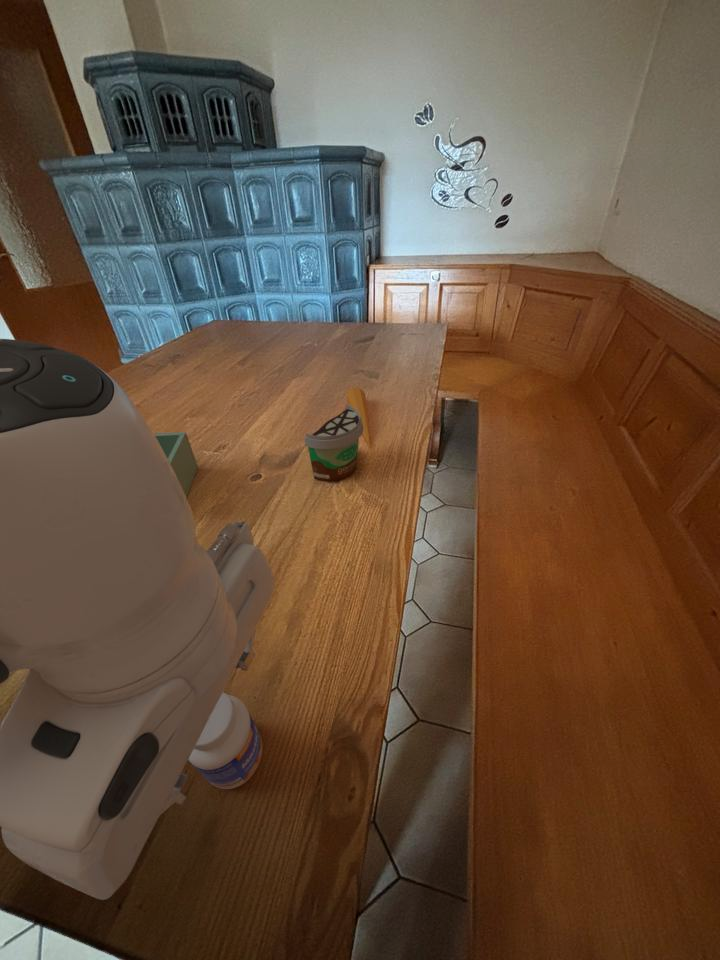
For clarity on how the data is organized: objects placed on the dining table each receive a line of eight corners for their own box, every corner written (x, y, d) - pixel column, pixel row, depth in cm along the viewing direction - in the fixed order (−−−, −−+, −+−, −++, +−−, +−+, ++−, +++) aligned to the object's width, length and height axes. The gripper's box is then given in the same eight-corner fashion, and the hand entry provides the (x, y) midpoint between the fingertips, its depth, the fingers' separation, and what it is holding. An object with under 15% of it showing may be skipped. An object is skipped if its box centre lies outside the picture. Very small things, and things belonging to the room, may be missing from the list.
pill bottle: (262, 784, 35) (240, 750, 28) (200, 796, 34) (164, 764, 28) (264, 717, 39) (245, 675, 32) (208, 727, 38) (178, 686, 32)
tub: (177, 521, 60) (160, 483, 55) (86, 526, 59) (61, 488, 54) (198, 467, 70) (185, 431, 65) (122, 471, 69) (103, 435, 64)
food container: (337, 496, 64) (335, 447, 58) (308, 483, 67) (303, 435, 60) (375, 459, 72) (377, 412, 66) (348, 448, 75) (347, 402, 68)
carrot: (349, 403, 90) (341, 388, 87) (367, 396, 89) (360, 380, 86) (364, 461, 76) (355, 445, 73) (385, 452, 75) (377, 436, 72)
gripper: (205, 501, 30) (242, 599, 39) (-84, 844, 15) (84, 876, 24) (279, 515, 29) (300, 613, 38) (41, 908, 14) (169, 916, 23)
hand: (214, 718), depth 31 cm, fingers open, 8 cm apart
